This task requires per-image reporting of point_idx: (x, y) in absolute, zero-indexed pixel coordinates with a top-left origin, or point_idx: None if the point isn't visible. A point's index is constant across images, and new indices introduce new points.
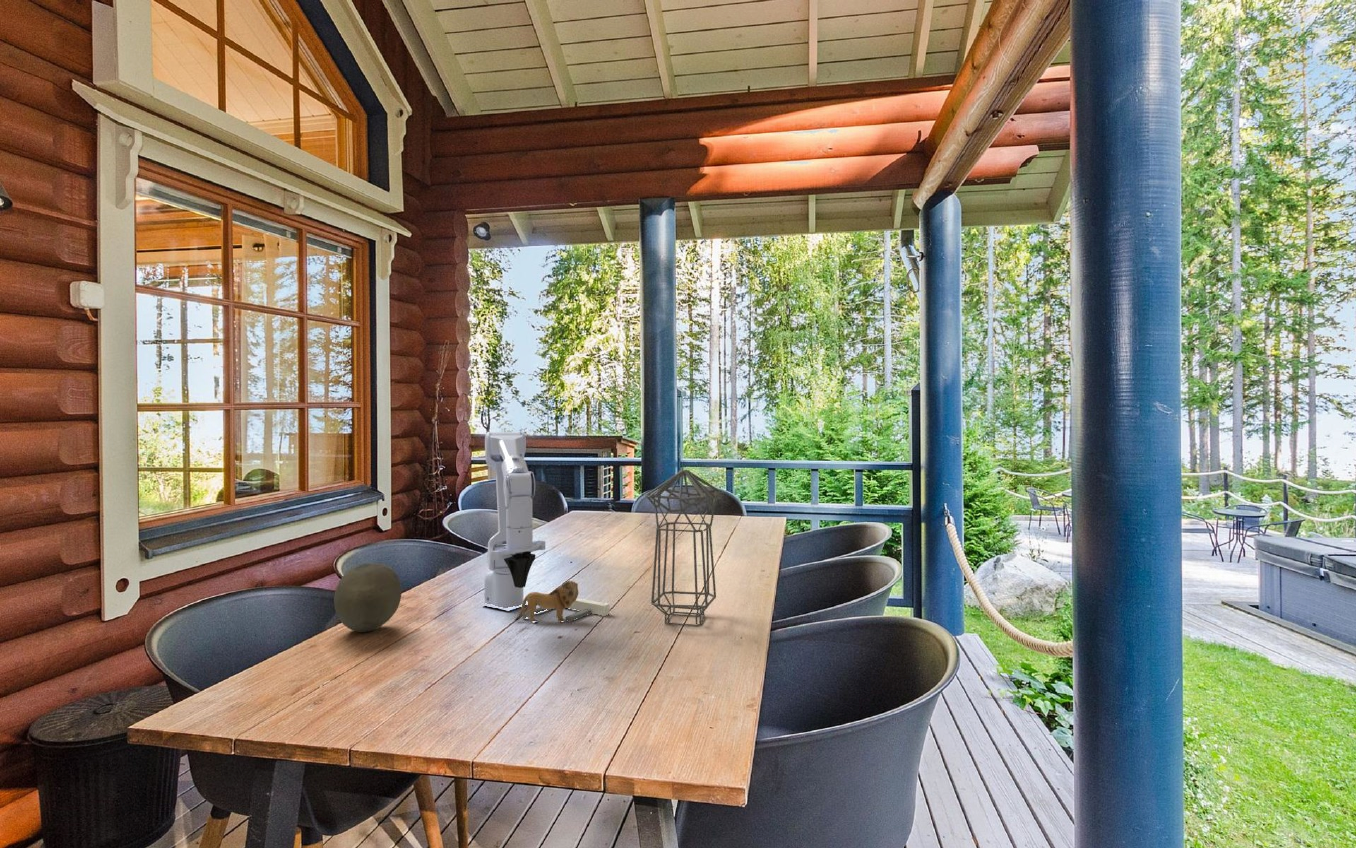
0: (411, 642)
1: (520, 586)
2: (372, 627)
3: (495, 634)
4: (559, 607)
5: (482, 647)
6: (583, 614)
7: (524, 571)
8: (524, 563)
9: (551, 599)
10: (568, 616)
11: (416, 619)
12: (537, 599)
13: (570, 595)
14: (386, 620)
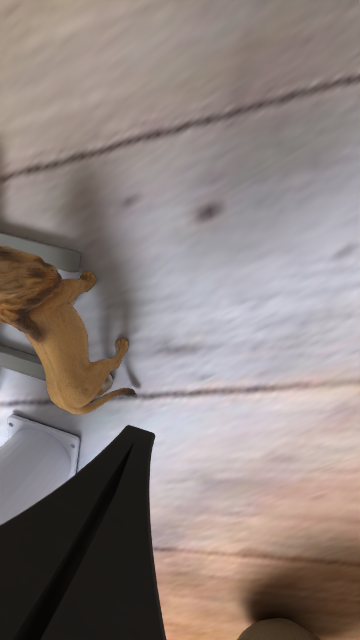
0: (332, 535)
1: (153, 442)
2: (307, 632)
3: (234, 395)
4: (69, 287)
5: (343, 381)
6: (22, 239)
7: (112, 505)
8: (98, 596)
9: (62, 321)
10: (66, 265)
11: (187, 574)
12: (80, 368)
13: (12, 254)
14: (290, 632)
